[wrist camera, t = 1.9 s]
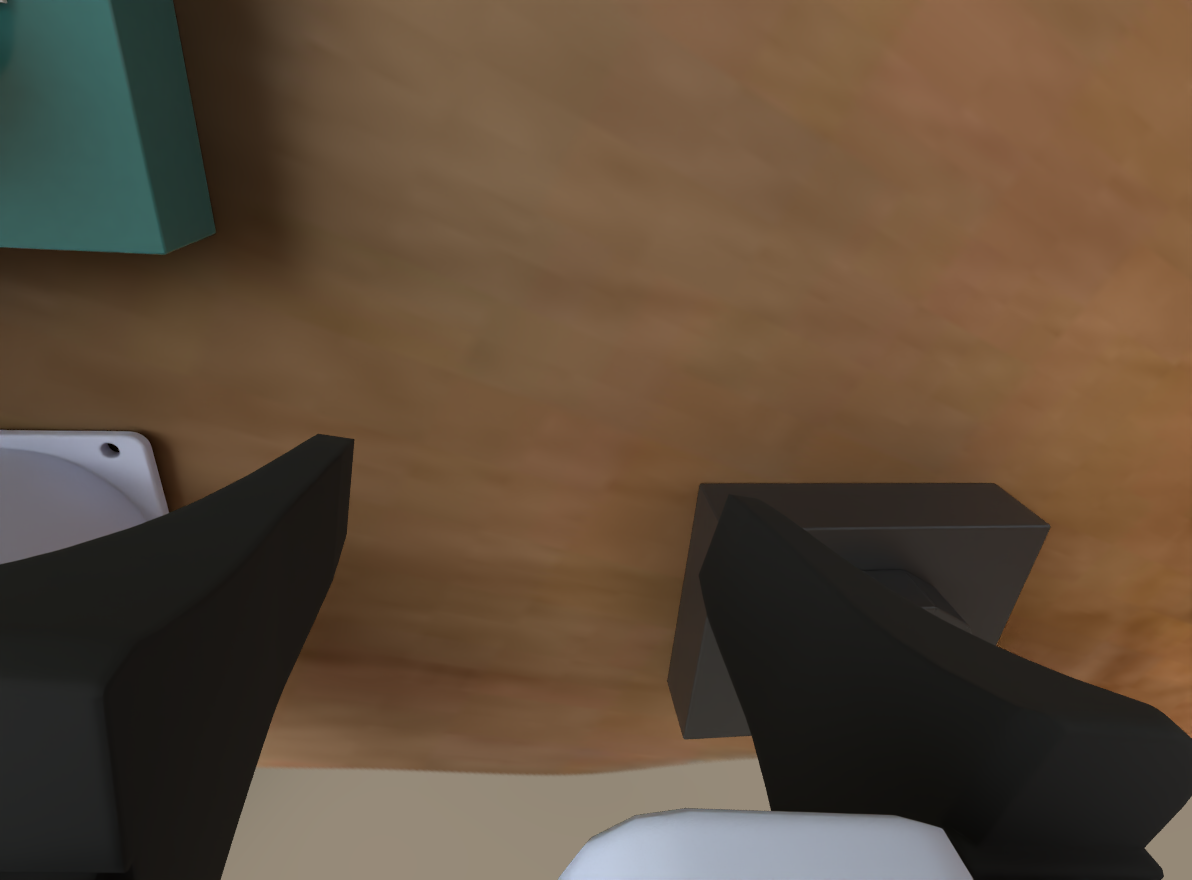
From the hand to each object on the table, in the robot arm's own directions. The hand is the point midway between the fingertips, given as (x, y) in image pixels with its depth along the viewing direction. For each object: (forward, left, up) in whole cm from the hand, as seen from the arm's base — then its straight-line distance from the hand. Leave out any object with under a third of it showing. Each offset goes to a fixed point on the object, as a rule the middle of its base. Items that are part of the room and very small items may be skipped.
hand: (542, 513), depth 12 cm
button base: (+12, -10, -9) cm, 18 cm away
